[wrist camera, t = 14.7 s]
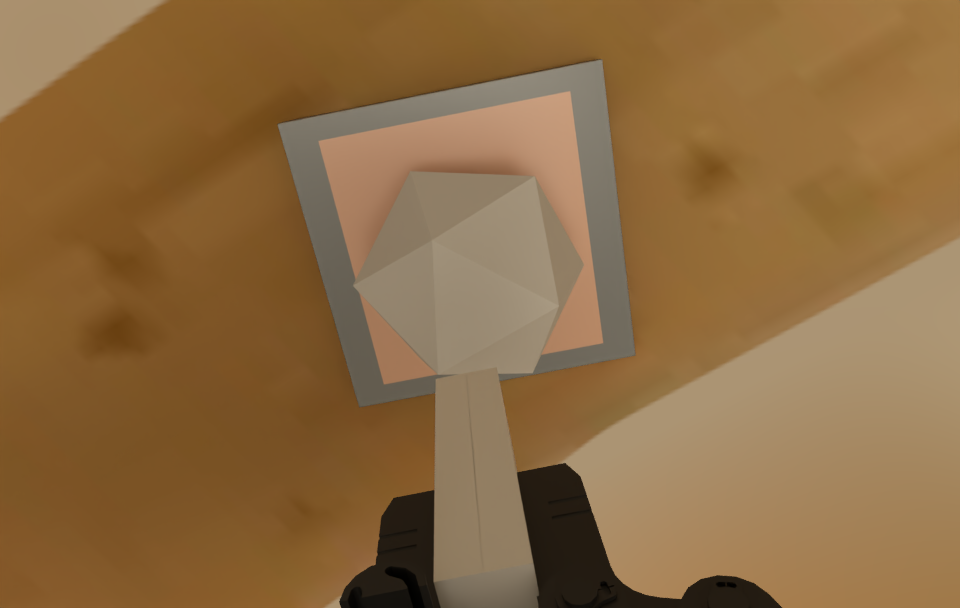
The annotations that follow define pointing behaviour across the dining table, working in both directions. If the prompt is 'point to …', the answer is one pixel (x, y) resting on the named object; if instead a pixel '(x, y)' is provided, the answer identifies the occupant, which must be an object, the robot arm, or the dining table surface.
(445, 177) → the die
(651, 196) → the dining table surface
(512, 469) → the robot arm
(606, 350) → the base plate
